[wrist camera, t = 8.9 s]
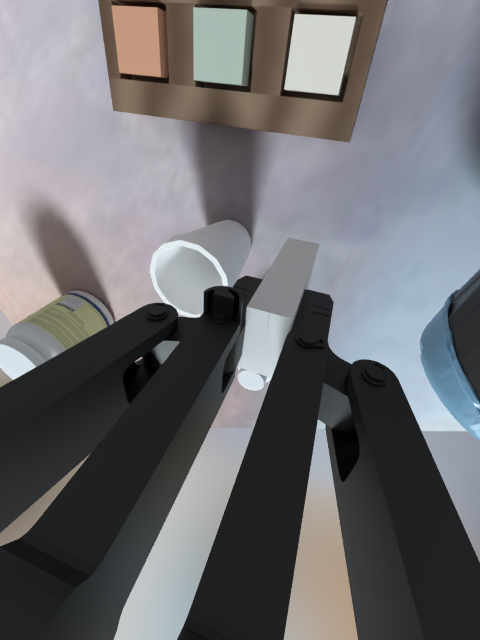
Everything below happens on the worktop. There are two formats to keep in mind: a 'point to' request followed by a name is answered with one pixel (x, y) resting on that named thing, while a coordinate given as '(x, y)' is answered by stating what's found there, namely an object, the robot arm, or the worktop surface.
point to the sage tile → (222, 45)
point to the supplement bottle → (251, 379)
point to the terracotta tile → (141, 40)
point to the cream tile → (319, 53)
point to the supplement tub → (52, 331)
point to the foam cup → (199, 264)
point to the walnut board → (264, 73)
